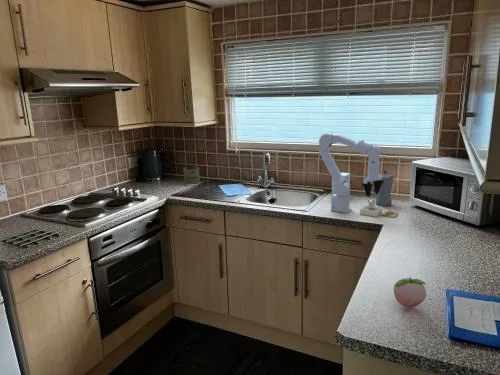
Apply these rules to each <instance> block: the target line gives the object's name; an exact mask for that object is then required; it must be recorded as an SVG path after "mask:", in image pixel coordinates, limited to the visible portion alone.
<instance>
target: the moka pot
mask: <svg viewBox="0 0 500 375" xmlns="http://www.w3.org/2000/svg"><path fill="white" fill-rule="evenodd" d="M379 175H380V176H383V179H382V180H383V181H384V182H383V184H382V185H381V188H380V191H379V194H376V198H375V206H378V207H383V208H384V207H385V208H386V207H391V206H392V204H393V202H392V194H391V192H392V188H393V183H394V182H393V181H394V177H395V176H394V175H393V174H390V173H388V171H387V170H384V171H383V173H379Z"/></svg>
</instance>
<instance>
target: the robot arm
mask: <svg viewBox="0 0 500 375" xmlns="http://www.w3.org/2000/svg"><path fill="white" fill-rule="evenodd" d="M339 143H340V144H342V145H345V146H348V147H351V148H353V150H354V151H355V152H358V153H360V154H363V155H365V156H367V157H368V161H367V177H366V178H365V179H363V180H362V182H361V185H362V186H363V189H364V191H365V197H371V193H372V188H373V190H374V192H373V193H374V194H376V195H377V194H379V191H380V188H381V185H382V184H383V182H384V181H383V180H382V179H383V176H380V175H379V174H380V164H381V163H380V162H381V161H380V155H381V153H382V152H381V148H380V147H379V146H377V145H373V144H372V143H371V144H369V143H367V142H365V140H357V141H355V140H353V139H350V138H348V137H346V136H344V135H341V134H338V133H336V132H332V131H328V132H326V133H323V134H321V136H320V137H319V140H318V153H319V155H320V157H321V160H322V161H323V163H324V165H325V167H326V169H327V170H328V172H329V174H330V176H331V179H332V178H333V180H334V186H335V188H336V194H333V195H332V194H331V201H330V211H331V212H337V213H344V214H348V213H349V212H351V211H352V210H353V209H352V208H350V196H351V195H350V194H351V193H350V194H349V192H348V191H349V190H350V191H351V188H352V187H351V183H350V184H349V183H348V182H347V181H346V180H345V178H344V177H342V175H341V173H342V172H341V171H340V169H339V167H338V165H337V163H336V161H335V159H334V158H333V156H332V154H331V152H330V150H331V147H332V145H333V144H339Z"/></svg>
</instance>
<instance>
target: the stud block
mask: <svg viewBox="0 0 500 375" xmlns="http://www.w3.org/2000/svg"><path fill="white" fill-rule="evenodd" d="M398 215H399V212H397V211H393V210H383V211H382V213H381V214H380V215H379V216H380V217H386V218H392V219H395V218H396V217H397V216H398Z"/></svg>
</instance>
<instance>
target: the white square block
mask: <svg viewBox="0 0 500 375" xmlns="http://www.w3.org/2000/svg"><path fill="white" fill-rule="evenodd" d="M340 173H341V175H342V177H344V178H345V180H346V181H347V182H348V183H349V184H350V185H351V172H340ZM348 192H349V194H351V189H350V190H349V191H348ZM333 194H336V188H335V186H334V180H333V178H332V177H331V196H332V195H333Z"/></svg>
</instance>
